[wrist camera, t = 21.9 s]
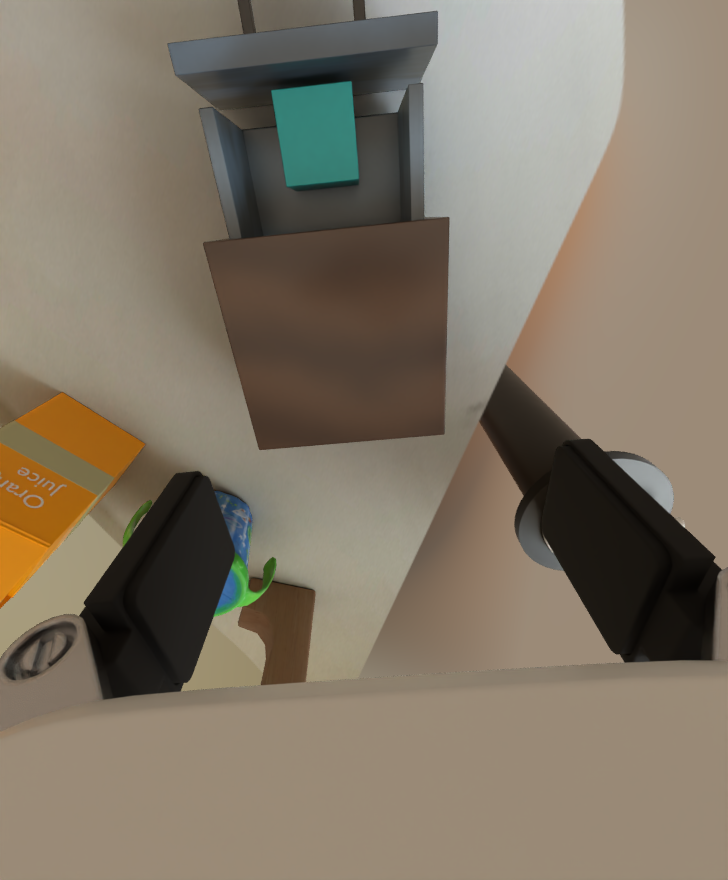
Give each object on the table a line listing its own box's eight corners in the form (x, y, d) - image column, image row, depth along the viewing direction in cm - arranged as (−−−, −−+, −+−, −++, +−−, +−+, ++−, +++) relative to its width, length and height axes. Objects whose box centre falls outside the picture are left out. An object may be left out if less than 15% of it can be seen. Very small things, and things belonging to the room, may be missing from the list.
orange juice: (62, 390, 37) (-201, 544, 19) (147, 443, 40) (-14, 616, 22) (32, 441, 39) (-221, 615, 22) (113, 487, 43) (-52, 670, 25)
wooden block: (245, 596, 53) (198, 755, 37) (251, 576, 50) (204, 735, 35) (308, 609, 54) (288, 766, 39) (316, 589, 52) (299, 748, 36)
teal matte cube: (358, 185, 27) (359, 179, 23) (296, 191, 27) (286, 186, 23) (352, 102, 25) (351, 80, 21) (284, 110, 25) (270, 89, 21)
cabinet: (242, 236, 30) (202, 242, 22) (425, 217, 30) (449, 216, 22) (279, 401, 38) (259, 450, 30) (426, 388, 37) (444, 434, 29)
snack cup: (301, 522, 46) (288, 594, 37) (251, 566, 49) (229, 641, 41) (186, 448, 40) (138, 512, 31) (139, 504, 44) (85, 576, 35)
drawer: (186, -43, 22) (118, -147, 16) (415, -72, 22) (439, -191, 15) (261, 300, 32) (237, 320, 25) (420, 284, 31) (435, 301, 25)
